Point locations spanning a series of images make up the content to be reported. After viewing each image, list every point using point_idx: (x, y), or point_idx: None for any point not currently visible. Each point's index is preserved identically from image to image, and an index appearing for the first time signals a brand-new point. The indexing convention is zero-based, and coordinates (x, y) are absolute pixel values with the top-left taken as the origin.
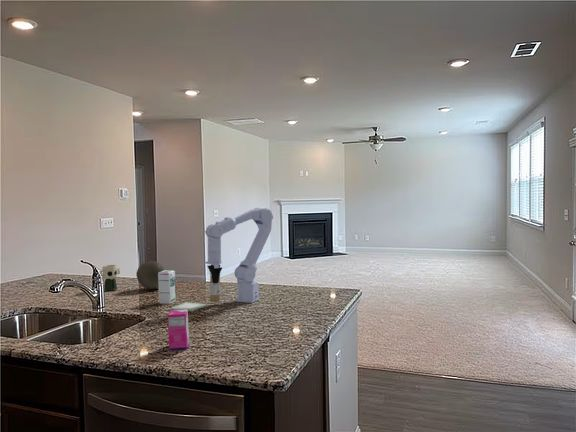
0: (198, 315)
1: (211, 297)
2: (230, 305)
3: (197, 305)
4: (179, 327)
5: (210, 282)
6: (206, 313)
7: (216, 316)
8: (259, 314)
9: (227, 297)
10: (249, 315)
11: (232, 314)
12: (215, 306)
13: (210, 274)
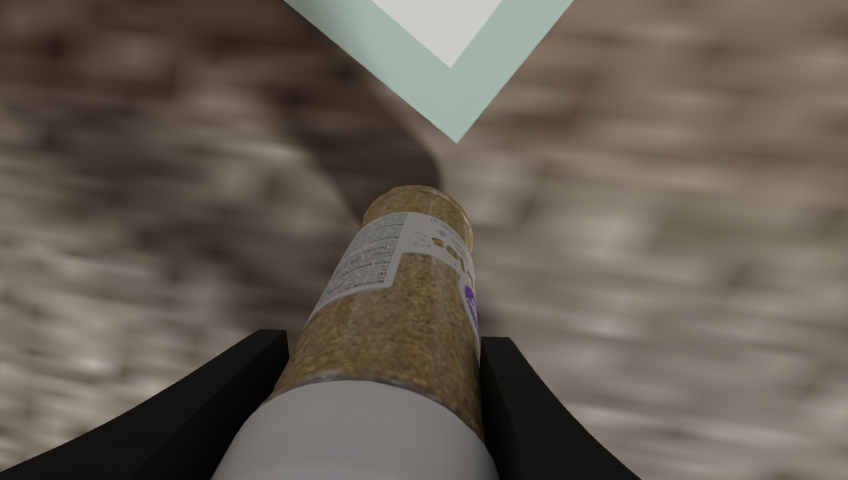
0: (49, 8)
1: (373, 213)
2: None
3: (417, 31)
4: None
5: (362, 294)
6: (119, 100)
7: (3, 177)
8: None
9: (705, 380)
10: (22, 410)
11: (60, 310)
12: None
13: (288, 416)
